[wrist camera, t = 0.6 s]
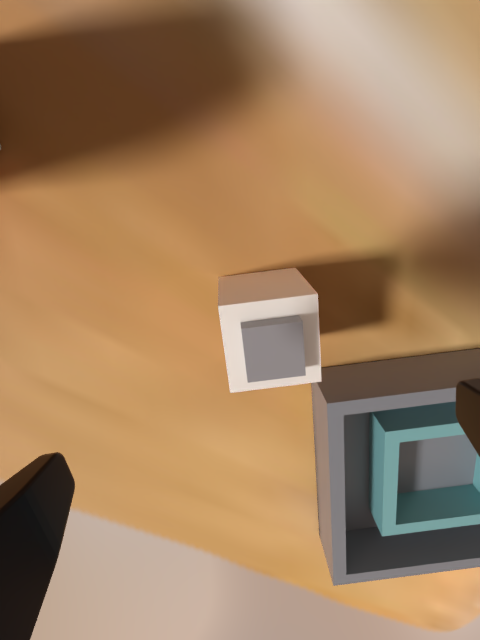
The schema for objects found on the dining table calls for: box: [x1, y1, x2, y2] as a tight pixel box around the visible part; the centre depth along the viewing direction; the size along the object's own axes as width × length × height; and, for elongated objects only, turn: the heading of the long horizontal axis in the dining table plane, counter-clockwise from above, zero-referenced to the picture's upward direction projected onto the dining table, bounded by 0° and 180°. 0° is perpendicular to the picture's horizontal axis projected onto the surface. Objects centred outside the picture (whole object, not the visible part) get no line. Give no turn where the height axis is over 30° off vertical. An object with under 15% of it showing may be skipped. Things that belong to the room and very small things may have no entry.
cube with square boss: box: [218, 268, 322, 393], centre depth 18 cm, size 4×4×6 cm
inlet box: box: [311, 348, 480, 586], centre depth 22 cm, size 14×13×4 cm
